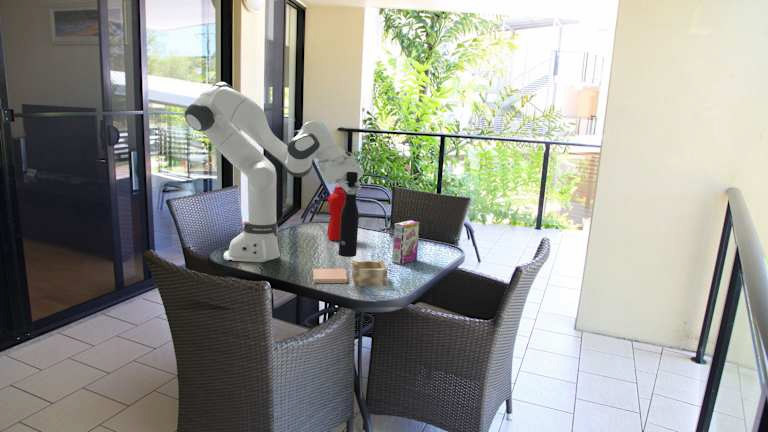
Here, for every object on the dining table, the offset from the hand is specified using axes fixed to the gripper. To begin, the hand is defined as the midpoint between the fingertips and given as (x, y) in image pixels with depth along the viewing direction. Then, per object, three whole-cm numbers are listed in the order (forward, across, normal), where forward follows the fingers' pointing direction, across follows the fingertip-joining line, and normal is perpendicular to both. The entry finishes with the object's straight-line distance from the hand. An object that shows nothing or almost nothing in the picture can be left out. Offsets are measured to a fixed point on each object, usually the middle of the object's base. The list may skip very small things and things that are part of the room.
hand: (354, 189), depth 206 cm
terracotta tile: (+19, -3, +28) cm, 34 cm away
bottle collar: (+28, +3, +18) cm, 34 cm away
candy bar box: (+27, +34, +19) cm, 47 cm away
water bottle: (-3, +47, +50) cm, 68 cm away
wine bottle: (+17, -1, +17) cm, 24 cm away
